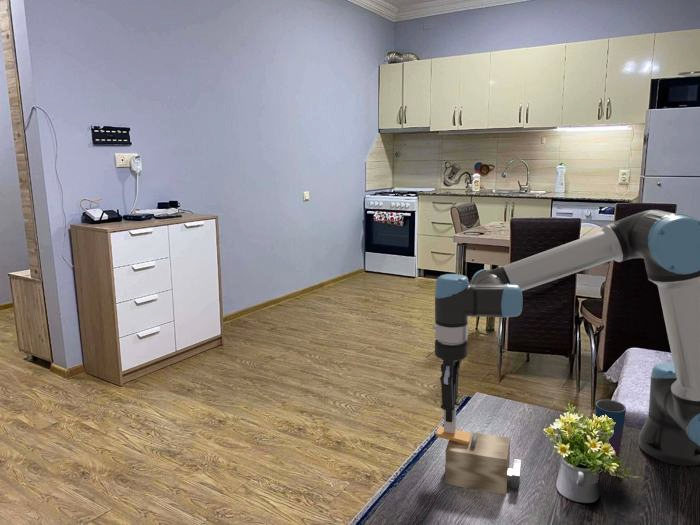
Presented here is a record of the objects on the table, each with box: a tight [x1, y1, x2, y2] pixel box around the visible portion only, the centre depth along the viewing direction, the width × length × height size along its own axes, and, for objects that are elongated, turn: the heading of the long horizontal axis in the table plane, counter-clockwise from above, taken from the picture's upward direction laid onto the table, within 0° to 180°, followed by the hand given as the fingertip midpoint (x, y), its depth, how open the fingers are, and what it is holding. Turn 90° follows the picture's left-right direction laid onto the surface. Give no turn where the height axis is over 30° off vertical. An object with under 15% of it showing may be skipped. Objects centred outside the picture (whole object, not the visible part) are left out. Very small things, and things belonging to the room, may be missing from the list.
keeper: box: [435, 425, 478, 447], centre depth 129 cm, size 10×5×1 cm, turn 70°
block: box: [445, 429, 511, 496], centre depth 128 cm, size 14×10×9 cm
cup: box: [595, 399, 627, 459], centre depth 132 cm, size 7×7×15 cm
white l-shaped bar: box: [444, 458, 522, 489], centre depth 128 cm, size 18×7×4 cm, turn 70°
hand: (449, 431), depth 129 cm, fingers closed
